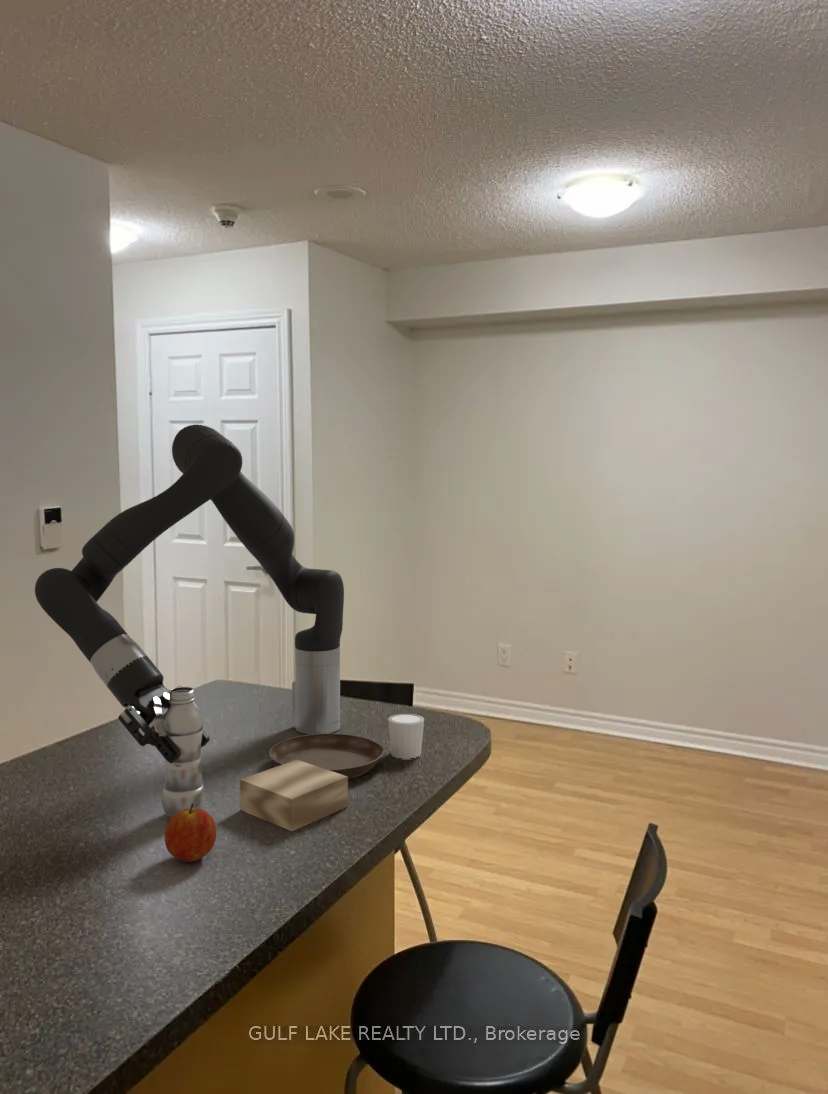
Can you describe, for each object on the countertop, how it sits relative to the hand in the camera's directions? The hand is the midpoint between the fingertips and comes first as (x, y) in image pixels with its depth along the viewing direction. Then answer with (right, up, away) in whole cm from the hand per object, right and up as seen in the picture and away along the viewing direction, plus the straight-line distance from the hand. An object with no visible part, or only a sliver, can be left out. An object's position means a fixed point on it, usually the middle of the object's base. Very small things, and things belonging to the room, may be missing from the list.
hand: (191, 751), depth 130 cm
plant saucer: (+18, -9, +24) cm, 32 cm away
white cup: (+33, -8, +30) cm, 45 cm away
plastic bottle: (-2, -11, +2) cm, 11 cm away
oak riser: (+15, -10, +4) cm, 19 cm away
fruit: (+3, -12, -13) cm, 18 cm away
